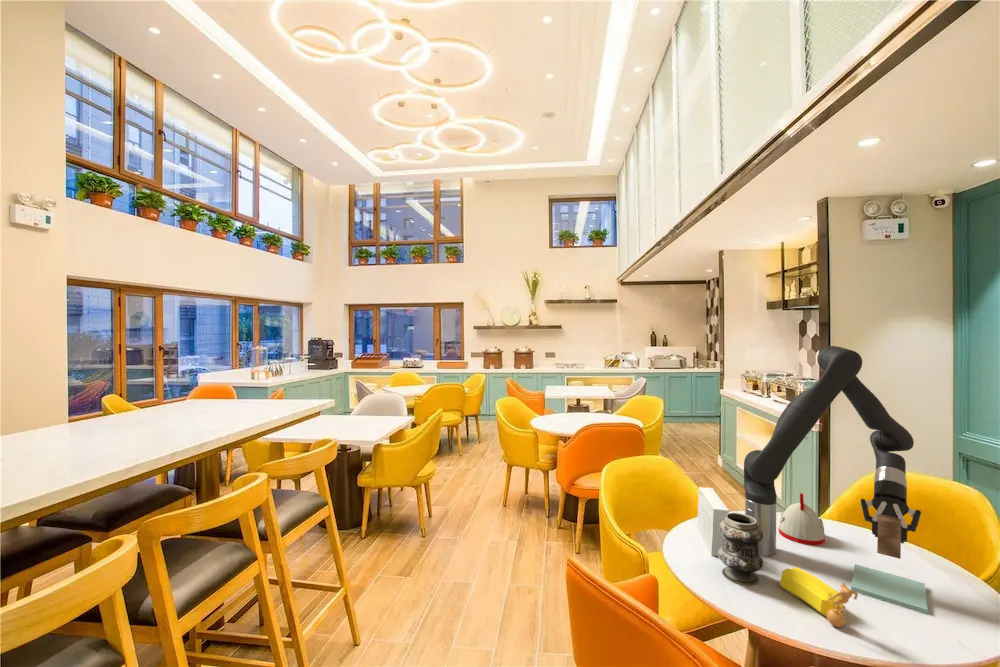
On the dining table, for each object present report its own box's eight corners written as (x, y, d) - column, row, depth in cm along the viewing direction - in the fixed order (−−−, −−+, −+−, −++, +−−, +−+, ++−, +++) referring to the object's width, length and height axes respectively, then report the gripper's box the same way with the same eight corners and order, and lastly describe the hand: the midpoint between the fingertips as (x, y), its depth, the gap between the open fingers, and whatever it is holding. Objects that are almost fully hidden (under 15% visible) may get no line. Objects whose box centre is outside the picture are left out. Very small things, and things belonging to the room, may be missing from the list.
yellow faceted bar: (792, 581, 134) (771, 584, 132) (792, 559, 134) (772, 562, 132) (853, 619, 117) (831, 624, 115) (854, 594, 117) (831, 599, 115)
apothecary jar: (767, 575, 137) (768, 517, 137) (757, 593, 128) (757, 530, 128) (724, 561, 145) (725, 506, 145) (712, 576, 136) (713, 518, 136)
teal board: (851, 590, 129) (851, 586, 129) (854, 567, 141) (854, 563, 141) (927, 614, 119) (927, 609, 119) (924, 587, 131) (924, 583, 131)
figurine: (843, 618, 117) (844, 573, 117) (865, 634, 111) (866, 587, 111) (815, 621, 116) (815, 576, 116) (835, 637, 110) (836, 589, 110)
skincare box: (729, 558, 147) (729, 510, 147) (711, 556, 148) (711, 509, 148) (712, 529, 168) (712, 487, 167) (696, 527, 169) (697, 486, 169)
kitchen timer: (823, 533, 164) (823, 492, 164) (826, 549, 153) (827, 505, 152) (778, 524, 172) (779, 485, 171) (778, 538, 160) (779, 497, 160)
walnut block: (877, 552, 129) (877, 518, 129) (877, 546, 133) (878, 513, 133) (900, 558, 126) (901, 523, 126) (900, 552, 130) (900, 518, 130)
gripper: (859, 474, 139) (856, 525, 131) (922, 485, 130) (924, 541, 121) (860, 486, 144) (857, 537, 135) (921, 497, 134) (923, 553, 125)
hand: (889, 538), depth 128 cm, fingers closed on walnut block, 5 cm apart
